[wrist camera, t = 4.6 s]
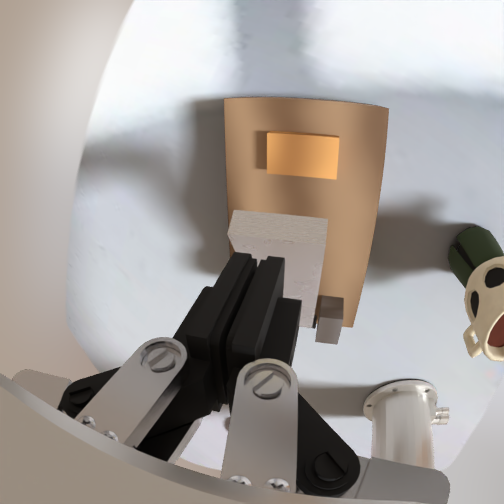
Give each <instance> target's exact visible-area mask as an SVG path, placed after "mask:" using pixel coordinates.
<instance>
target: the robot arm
mask: <svg viewBox="0 0 504 504" xmlns="http://www.w3.org/2000/svg"><path fill="white" fill-rule="evenodd" d="M284 273H285V258H283V257H275V256H268V257H267V259H266V260H263V259H261V260H260V263H259V265H258V267H257V259H255V258H252V255H251V254H249V253H241V252H234V253H233V255H232V256H231V258H230V260H229V261H228V263H227V265H226V266H225V268H224V270H223V271H222V273H221V275H220V276H219V278H218V280H217V281H216V283H215V285H214V286H213V287H209V286H206V287H205V288H204V289H203V290H202V292H201V293H200V295H199V296H198V298H197V299H196V301H195V303H194V304H193V306H192V307H191V309H190V311H189V312H188V314H187V316H186V317H185V319H184V320H183V322H182V324H181V325H180V327H179V328H178V330H177V332H176V333H175V335H174V337H173V338H168V337H159V338H155V339H151V340H149V341H147V342H145V343H144V344H143V345H141V346H140V347H139V348H138V349H137V350H136V351H135V352H134V354H133V355H132V356H131V357H130V358H129V359H128V360H127V361H126V362H125V363H124V364H123V366H122V367H118V368H115V369H112V370H109V371H106V372H103V373H99V374H96V375H93V376H90V377H87V378H83V379H80V380H77V381H75V382H73V383H72V381H71V380H70V379H66V378H62V377H58V376H53V375H49V374H45V373H41V372H38V371H33V370H27V369H25V370H22V371H20V372H18V373H17V374H16V375H15V376H14V377H13V378H12V380H11V379H9V378H7V377H6V376H4V375H2V374H0V504H447V501H448V497H449V493H450V483H449V481H448V478H447V477H446V476H445V475H444V474H443V473H442V472H441V471H438V470H435V466H434V447H433V434H432V424H437V425H441V424H447V423H448V421H449V415H448V413H449V408H448V407H444V408H437V407H435V405H436V403H437V399H438V396H437V391H436V389H435V387H434V386H433V385H431V384H430V383H427V382H424V381H419V380H404V381H398V382H394V383H391V384H388V385H385V386H383V387H381V388H379V389H377V390H375V391H374V392H373V393H371V394H370V395H369V396H368V397H367V398H366V400H365V402H364V405H363V412H364V415H365V416H366V418H367V419H369V420H370V421H372V448H371V458H370V459H368V458H364V457H361V456H357V455H356V454H355V452H354V451H353V450H352V449H351V448H350V447H349V446H348V445H347V444H346V443H345V442H344V441H343V440H342V439H341V437H340V436H339V435H338V434H337V433H336V432H335V431H334V430H333V429H332V428H331V427H330V426H329V425H328V424H327V423H326V422H325V421H324V420H323V419H322V418H321V416H320V415H319V414H318V413H317V412H316V411H315V410H314V409H313V408H312V407H311V406H310V405H309V404H308V402H307V401H306V400H305V399H304V398H303V397H302V396H301V395H300V394H299V393H298V380H297V375H296V373H295V372H294V370H293V369H292V368H291V366H292V361H293V356H294V351H295V346H296V341H297V336H298V330H299V323H300V316H301V307H302V300H299V299H291V298H284V297H283V290H284ZM228 403H229V408H230V416H231V418H230V424H229V430H228V436H227V442H226V448H225V454H224V459H223V465H222V471H221V477H220V478H216V477H212V476H209V475H205V474H202V473H198V472H195V471H192V470H189V469H186V468H183V467H180V466H177V465H174V464H175V462H176V461H177V460H178V458H179V457H180V455H181V454H182V452H183V451H184V449H185V447H186V446H187V444H188V443H189V441H190V440H191V438H192V437H193V435H194V434H195V432H196V431H197V429H198V427H199V426H200V424H201V422H202V419H203V417H204V416H207V415H209V414H210V413H211V411H212V410H213V411H217V412H220V409H221V407H222V404H226V405H227V404H228Z"/></svg>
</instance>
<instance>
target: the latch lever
mask: <svg viewBox="0 0 504 504" xmlns="http://www.w3.org/2000/svg"><path fill="white" fill-rule="evenodd" d="M327 226H328V219H324V218H315V217H306V216H296V215H286V214H276V213H265V212H254V211H242V210H234V211H233V215H232V218H231V222H230V226H229V230H228V233H227V235H228V237H229V239H230V241H231V243H232V246H233V248H234V250H235V252H241V253H249V254H251V255H252V258H255V259H257V267H258V265H259V263H260V260H261V259H263V260H266V259H267V257H268V256H275V257H283V258H285V273H284V290H283V297H284V298H291V299H299V300H302V307H301V316H300V323H299V327H307V328H314V329H315V327H316V321H317V315H314V314H315V308H316V303H317V297H318V291H319V285H320V279H321V273H322V266H323V260H324V253H325V246H326V236H327Z"/></svg>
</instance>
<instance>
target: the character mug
mask: <svg viewBox="0 0 504 504" xmlns="http://www.w3.org/2000/svg"><path fill="white" fill-rule="evenodd" d="M457 239H458V241H459V243H460V244H461V245H460V246H459V247H458V250H456V249H455V248H454V247H453V245H452V246H451V247H450V252H449V257H448V259H449V263H450V267H451V270H452V271H453V273H454V274H455V275H456V277H457V278H458V280H459V281H460V282H461V283H462V285H463V286H464V287H465V288H466V292H465V298H464V301H465V308H466V312H467V314H468V317H469V319H470V322H471V325H470V326H469V327H468V328H467V329H466V331H465V332H464V334H463V338H464V341H465V344H466V347H467V350H468V353H469V355H470V356H471V358H473V357H476V356H478V355H479V354H480V353H481V352H482V351H483V353H484V354H485V355H486V356H487V357H488V358H489V359H490V360H493V361H500V362H501V361H504V253H503V251H502V249H501V247H500V245H499V244H498V242H497V241H496V239H495V238H494V236H493V235H492V234H491V232H490V231H489V230H486V229H484V228H481V227H479V226H478V227H473V228H468V229H466V230H465V231H463V232H462V233H460V234H459V235H458V236H457ZM474 334H476V336H477V338H478V340H479V341H478V342H477V343H476V344H475V341H474V338H473V336H474Z"/></svg>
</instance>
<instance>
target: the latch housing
mask: <svg viewBox="0 0 504 504" xmlns="http://www.w3.org/2000/svg"><path fill="white" fill-rule="evenodd" d="M388 114H389V108H385V107H381V106H376V105H369V104H362V103H353V102H344V101H334V100H322V99H308V98H287V97H238V98H226V99H224V118H225V151H226V179H227V204H228V226H230V222H231V218H232V215H233V211H234V210H242V211H254V212H265V213H276V214H286V215H296V216H306V217H315V218H324V219H328V226H327V236H326V246H325V253H324V260H323V266H322V273H321V279H320V285H319V291H318V297H317V303H316V308H315V314H314V315H317V321H316V323H317V324H318V325H317V333H316V340H315V342H321V343H329V344H337V343H338V340H339V336H340V332H341V327H351V328H352V327H353V324H354V320H355V316H356V312H357V308H358V304H359V300H360V296H361V292H362V288H363V283H364V279H365V275H366V270H367V265H368V260H369V256H370V251H371V245H372V240H373V235H374V229H375V223H376V217H377V211H378V205H379V198H380V191H381V184H382V177H383V168H384V160H385V150H386V140H387V128H388ZM229 246H230V258H231V256H232V255H233V253H234V252H235V250H234V248H233V246H232V243H231V241H230V239H229Z"/></svg>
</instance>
